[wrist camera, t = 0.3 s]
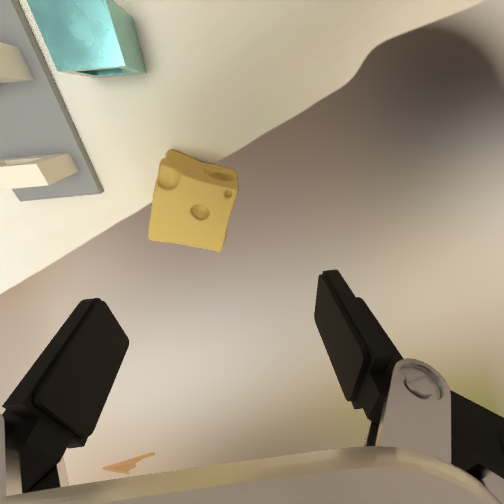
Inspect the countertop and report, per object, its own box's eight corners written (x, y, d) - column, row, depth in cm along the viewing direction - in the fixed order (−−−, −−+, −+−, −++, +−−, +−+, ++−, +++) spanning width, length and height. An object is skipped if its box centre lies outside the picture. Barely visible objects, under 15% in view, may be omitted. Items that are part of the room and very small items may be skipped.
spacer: (72, 21, 25) (25, -4, 19) (131, 16, 25) (103, -9, 20) (93, 77, 28) (57, 71, 22) (146, 73, 28) (125, 65, 22)
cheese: (170, 147, 33) (150, 163, 25) (240, 169, 36) (244, 189, 27) (163, 211, 38) (145, 241, 30) (224, 225, 41) (223, 257, 33)
